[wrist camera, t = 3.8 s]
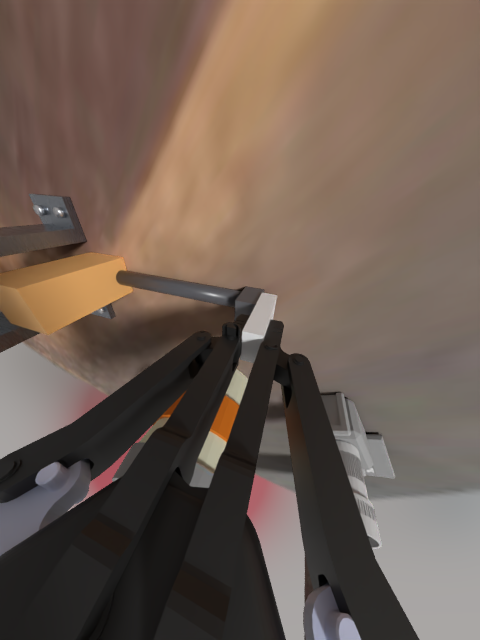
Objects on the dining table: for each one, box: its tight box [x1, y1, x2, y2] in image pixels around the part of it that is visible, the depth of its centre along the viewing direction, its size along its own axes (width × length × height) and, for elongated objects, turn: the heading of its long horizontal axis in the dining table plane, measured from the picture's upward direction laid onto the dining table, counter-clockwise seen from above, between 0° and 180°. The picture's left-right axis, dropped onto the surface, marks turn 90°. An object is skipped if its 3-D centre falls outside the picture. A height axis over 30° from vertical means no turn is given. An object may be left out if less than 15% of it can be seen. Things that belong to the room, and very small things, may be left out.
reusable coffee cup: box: [112, 369, 248, 488], centre depth 23 cm, size 12×13×15 cm
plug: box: [0, 252, 264, 335], centre depth 18 cm, size 4×24×10 cm, turn 87°
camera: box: [321, 392, 395, 548], centre depth 22 cm, size 9×12×15 cm
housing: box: [0, 194, 115, 352], centre depth 20 cm, size 16×5×12 cm, turn 177°
